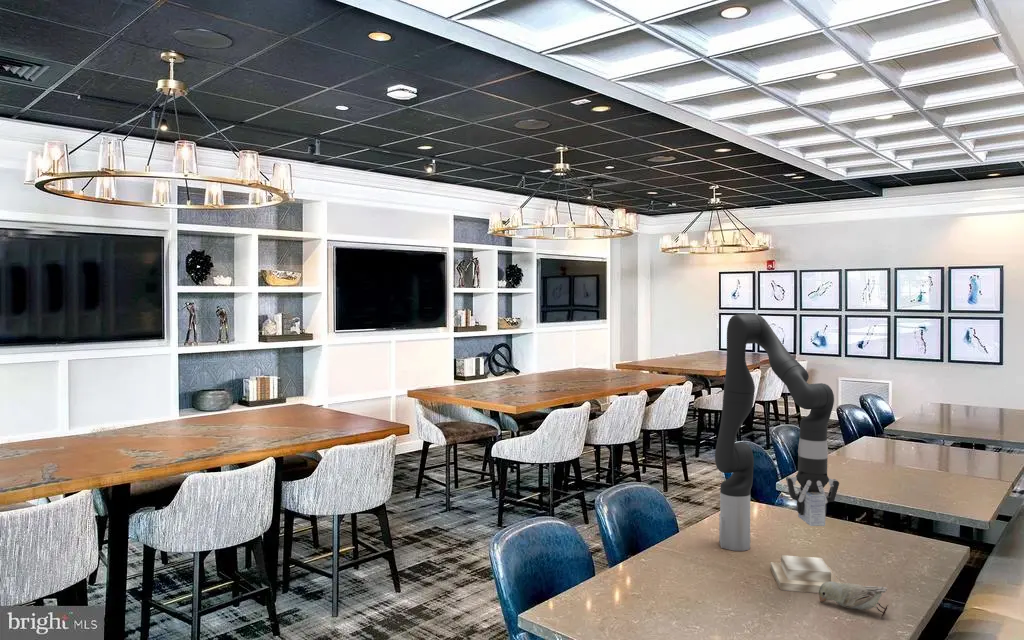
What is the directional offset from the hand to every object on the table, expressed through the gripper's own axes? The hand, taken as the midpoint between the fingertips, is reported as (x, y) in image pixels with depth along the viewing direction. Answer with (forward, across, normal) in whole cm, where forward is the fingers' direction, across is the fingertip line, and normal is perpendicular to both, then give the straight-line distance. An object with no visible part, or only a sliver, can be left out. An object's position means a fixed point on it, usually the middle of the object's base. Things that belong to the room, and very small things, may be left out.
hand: (811, 514), depth 195 cm
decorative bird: (+19, +6, -18) cm, 26 cm away
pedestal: (+19, -1, 0) cm, 19 cm away
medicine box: (+2, 0, 0) cm, 2 cm away
